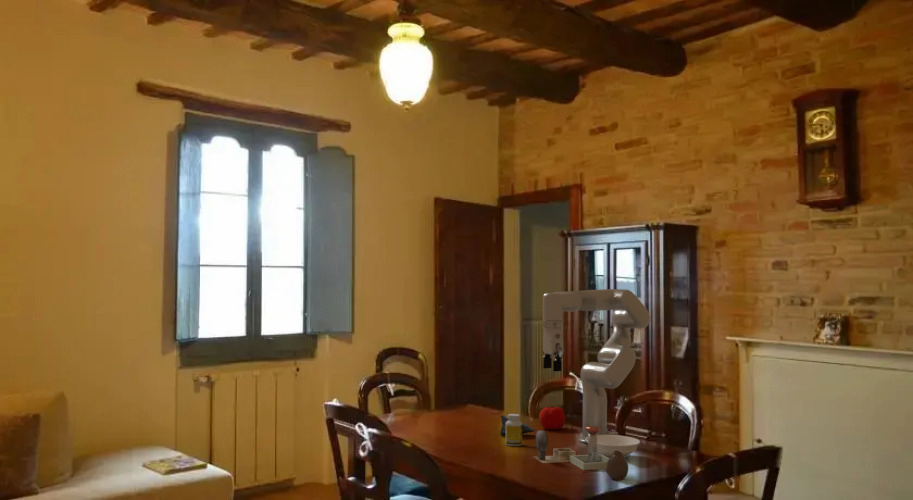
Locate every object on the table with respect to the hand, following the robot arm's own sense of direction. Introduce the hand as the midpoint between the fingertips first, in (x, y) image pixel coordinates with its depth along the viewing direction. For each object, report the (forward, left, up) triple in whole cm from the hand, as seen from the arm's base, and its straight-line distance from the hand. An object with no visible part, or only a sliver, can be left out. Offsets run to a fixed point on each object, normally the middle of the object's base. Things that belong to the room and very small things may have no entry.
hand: (552, 369), depth 299 cm
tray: (-3, +32, -30) cm, 44 cm away
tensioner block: (+6, +21, -30) cm, 37 cm away
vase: (-5, +47, -30) cm, 56 cm away
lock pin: (-3, +32, -29) cm, 43 cm away
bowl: (-17, +18, -30) cm, 39 cm away
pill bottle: (+12, -9, -30) cm, 34 cm away
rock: (+5, -27, -30) cm, 41 cm away
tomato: (-15, -38, -30) cm, 51 cm away
